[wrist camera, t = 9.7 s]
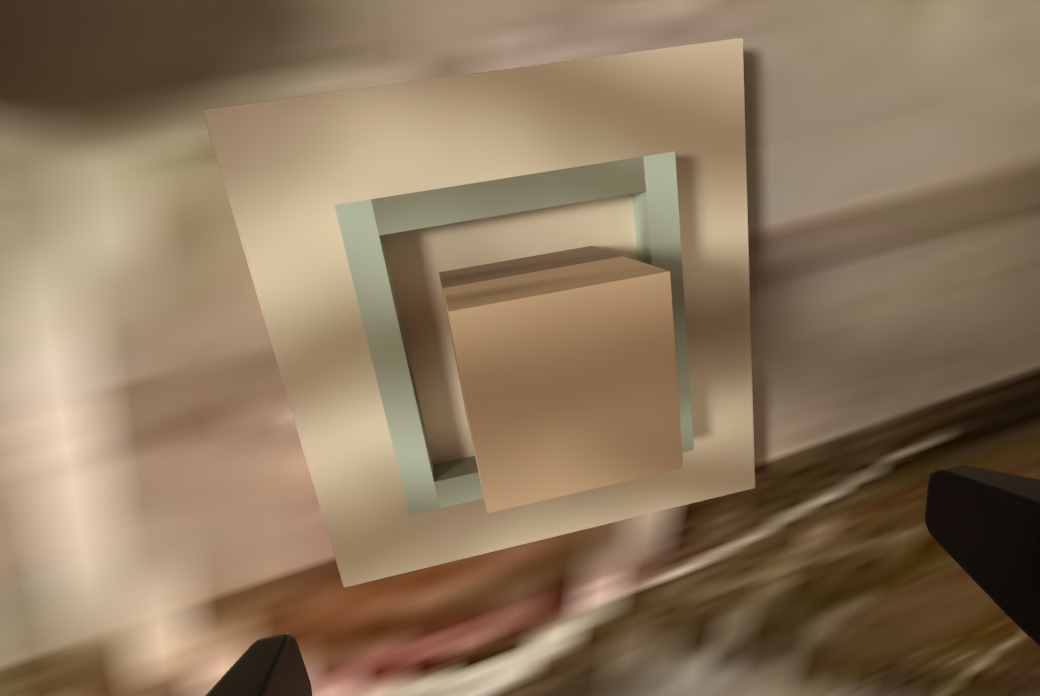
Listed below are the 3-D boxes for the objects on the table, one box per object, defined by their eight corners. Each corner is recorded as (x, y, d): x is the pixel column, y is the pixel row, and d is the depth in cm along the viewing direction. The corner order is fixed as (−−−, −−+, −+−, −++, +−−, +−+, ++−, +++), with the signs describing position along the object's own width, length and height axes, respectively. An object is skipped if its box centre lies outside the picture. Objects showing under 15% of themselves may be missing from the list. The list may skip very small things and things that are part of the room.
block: (606, 387, 20) (683, 468, 14) (466, 416, 19) (487, 513, 13) (590, 245, 18) (670, 271, 12) (438, 272, 17) (448, 311, 12)
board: (738, 473, 23) (773, 503, 21) (348, 565, 21) (339, 611, 19) (722, 47, 18) (765, 26, 16) (217, 115, 16) (184, 103, 14)
